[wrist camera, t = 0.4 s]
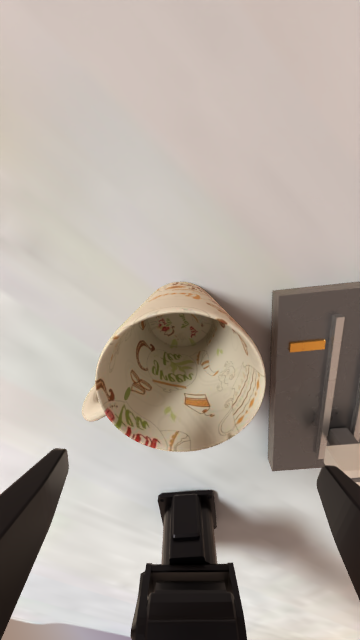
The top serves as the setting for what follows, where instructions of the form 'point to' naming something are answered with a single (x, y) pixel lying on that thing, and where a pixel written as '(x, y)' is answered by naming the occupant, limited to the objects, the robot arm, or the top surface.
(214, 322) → the mug
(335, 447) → the fader tab
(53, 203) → the top surface
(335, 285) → the console board
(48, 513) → the robot arm
